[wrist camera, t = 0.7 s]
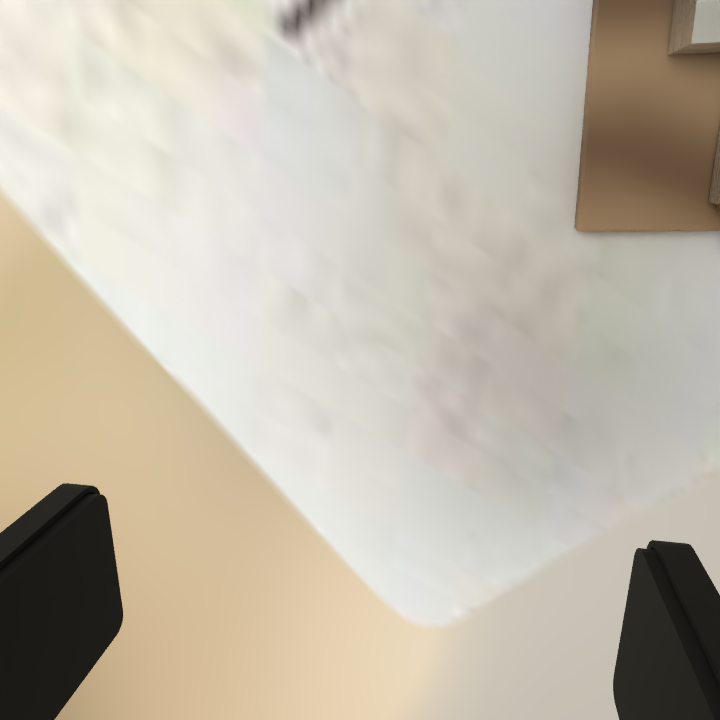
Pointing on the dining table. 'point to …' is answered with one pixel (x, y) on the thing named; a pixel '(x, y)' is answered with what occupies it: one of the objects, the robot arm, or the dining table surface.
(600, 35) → the board
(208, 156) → the dining table surface
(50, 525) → the robot arm
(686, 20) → the square frame with handle
